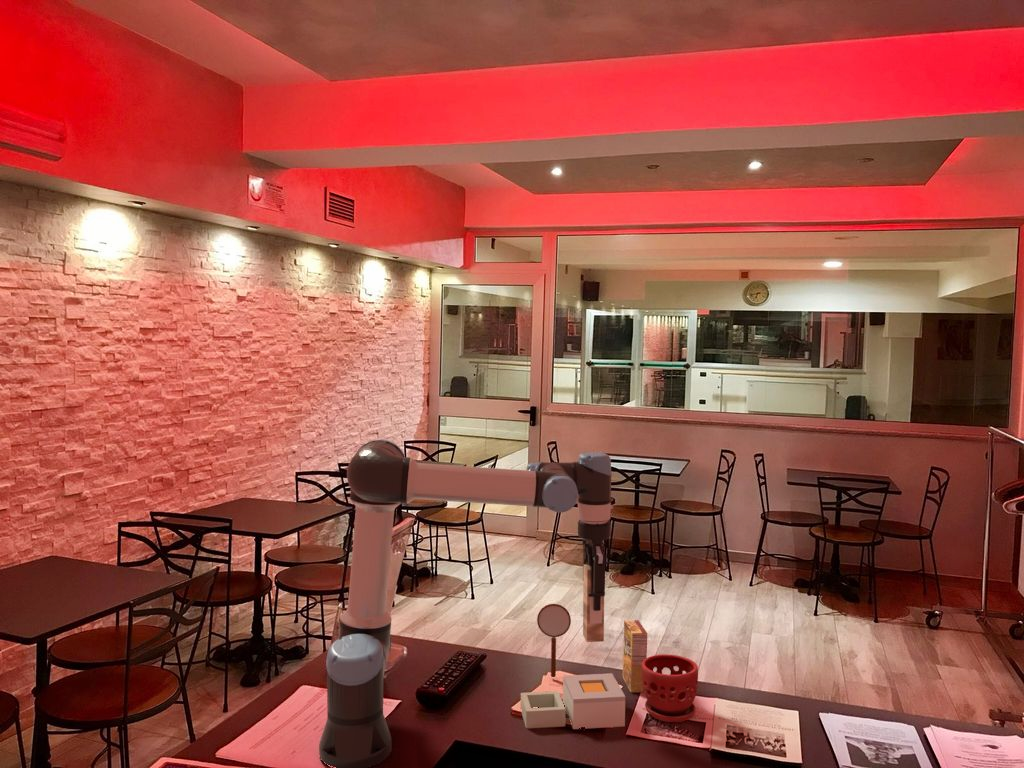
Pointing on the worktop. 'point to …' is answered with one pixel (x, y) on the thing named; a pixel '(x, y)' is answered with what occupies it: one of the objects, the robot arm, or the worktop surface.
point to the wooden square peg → (589, 630)
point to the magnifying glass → (553, 627)
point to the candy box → (634, 654)
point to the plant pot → (669, 687)
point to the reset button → (592, 687)
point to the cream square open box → (542, 709)
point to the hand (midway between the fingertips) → (593, 618)
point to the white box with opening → (594, 702)
